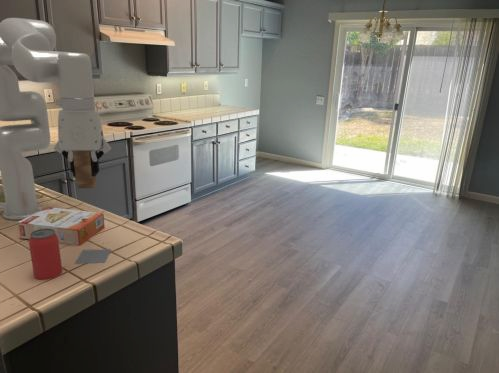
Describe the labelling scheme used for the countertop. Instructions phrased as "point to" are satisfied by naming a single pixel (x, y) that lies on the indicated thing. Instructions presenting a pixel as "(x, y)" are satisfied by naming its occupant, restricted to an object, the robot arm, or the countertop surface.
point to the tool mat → (93, 256)
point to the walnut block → (83, 169)
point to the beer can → (45, 254)
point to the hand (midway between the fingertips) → (85, 174)
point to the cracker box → (64, 224)
